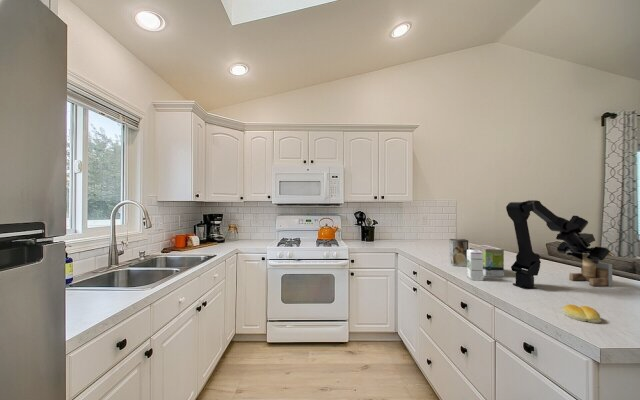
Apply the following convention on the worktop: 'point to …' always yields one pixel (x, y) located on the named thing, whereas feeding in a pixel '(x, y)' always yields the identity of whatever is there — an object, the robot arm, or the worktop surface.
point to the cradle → (600, 279)
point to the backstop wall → (606, 267)
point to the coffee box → (458, 252)
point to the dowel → (588, 267)
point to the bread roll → (582, 313)
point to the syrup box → (475, 265)
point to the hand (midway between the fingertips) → (591, 262)
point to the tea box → (491, 260)
